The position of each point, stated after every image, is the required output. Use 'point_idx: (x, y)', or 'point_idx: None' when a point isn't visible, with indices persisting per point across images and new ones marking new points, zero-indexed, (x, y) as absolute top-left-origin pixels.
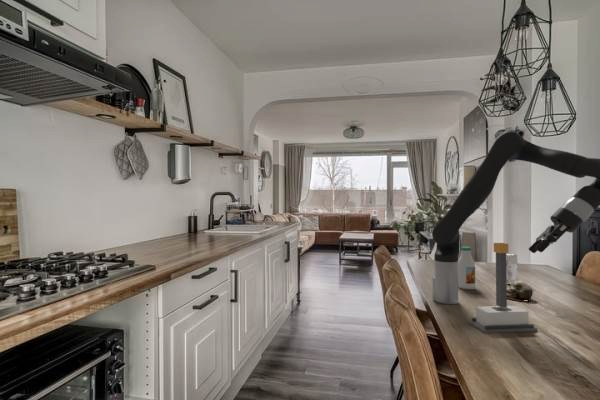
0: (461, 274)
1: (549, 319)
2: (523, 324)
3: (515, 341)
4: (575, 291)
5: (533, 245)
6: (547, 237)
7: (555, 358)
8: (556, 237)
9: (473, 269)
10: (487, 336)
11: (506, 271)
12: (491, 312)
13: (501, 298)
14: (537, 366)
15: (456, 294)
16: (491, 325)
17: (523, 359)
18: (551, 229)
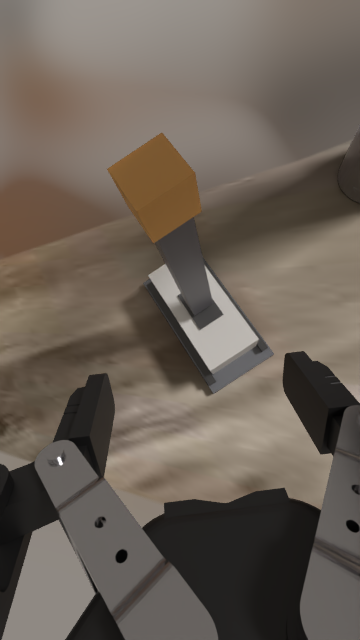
0: None
1: None
2: (202, 361)
3: (121, 342)
4: None
5: (304, 382)
6: (39, 474)
7: (61, 405)
8: (91, 582)
9: None
10: (127, 292)
11: (174, 275)
12: (154, 283)
13: (181, 294)
14: (17, 370)
15: None
16: (158, 294)
17: (37, 351)
18: (98, 596)
